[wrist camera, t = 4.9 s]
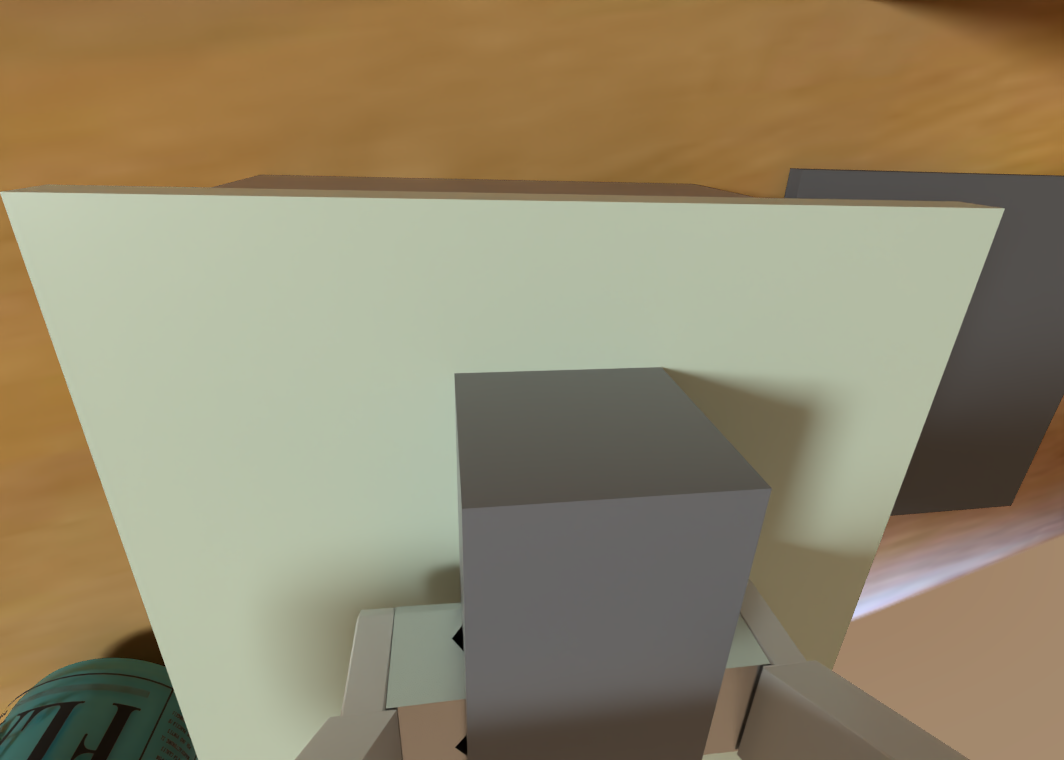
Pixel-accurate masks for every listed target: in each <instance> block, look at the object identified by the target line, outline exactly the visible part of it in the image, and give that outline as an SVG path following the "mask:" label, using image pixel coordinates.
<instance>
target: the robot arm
mask: <svg viewBox="0 0 1064 760" xmlns="http://www.w3.org/2000/svg"><path fill="white" fill-rule="evenodd" d="M466 735H467V727H466V692H465V670H464V651H463V624H462V603H448V604H433V605H418V606H402V607H396V608H381V609H366V610H361V611H360V614H359V616H358V618H357V622H356V628H355V633H354V639H353V645H352V651H351V657H350V663H349V669H348V674H347V680H346V686H345V692H344V698H343V704H342V709H341V715H340V716H334V717H329V718H328V719H327V720H326V722H325V723H324V724H323V725H322V727H321V728H320V729H319V730H318V731H317V733H316V734H315V735H314V736H313V738H312V739H311V740H310V741H309V743H308V744H307V745H306V746H305V747H304V749H303V750H302V751H301V752H300V754H299V755H298V756H297V757H296V759H295V760H467V739H466ZM735 751H738V752H737V755H738V756H739V757H740V758H741V759H742V760H969V759H968V758H966V757H965V756H963V755H961V754H960V753H959V752H957V751H956V750H954V749H952V748H951V747H949V746H948V745H946V744H945V743H943V742H941V741H940V740H939V739H937V738H935V737H934V736H932V735H931V734H929V733H928V732H926V731H925V730H923V729H921V728H920V727H918V726H917V725H915V724H914V723H912V722H911V721H909V720H907V719H906V718H904V717H903V716H901V715H900V714H898V713H897V712H895V711H894V710H892V709H891V708H889V707H887V706H886V705H884V704H883V703H881V702H880V701H878V700H877V699H875V698H874V697H872V696H870V695H869V694H867V693H866V692H864V691H863V690H861V689H860V688H858V687H857V686H855V685H853V684H852V683H850V682H849V681H847V680H846V679H844V678H843V677H841V676H840V675H838V674H836V673H835V672H833V671H832V670H830V669H829V668H827V667H826V666H824V665H823V664H821V663H819V662H818V661H816V660H814V661H806V659H805V658H804V656H803V655H802V653H801V652H800V650H799V649H798V648H797V646H796V645H795V643H794V642H793V640H792V639H791V638H790V636H789V635H788V633H787V632H786V630H785V629H784V627H783V626H782V625H781V623H780V622H779V620H778V619H777V617H776V616H775V614H774V613H773V612H772V610H771V609H770V607H769V606H768V604H767V603H766V601H765V600H764V599H763V597H762V596H761V594H760V593H759V591H758V590H757V588H756V587H755V586H754V584H753V583H752V581H751V580H750V579H748V583H747V587H746V591H745V595H744V599H743V603H742V606H741V610H740V614H739V618H738V622H737V626H736V630H735V634H734V638H733V641H732V645H731V649H730V653H729V657H728V661H727V665H726V669H725V672H724V676H723V680H722V684H721V688H720V692H719V696H718V700H717V703H716V707H715V711H714V715H713V719H712V723H711V727H710V731H709V735H708V738H707V742H706V746H705V750H704V754H703V755H707V754H716V753H726V752H735Z"/></svg>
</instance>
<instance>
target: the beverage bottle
mask: <svg viewBox="0 0 1064 760" xmlns="http://www.w3.org/2000/svg"><path fill="white" fill-rule="evenodd" d="M26 692H27V693H26ZM26 692H24V693H26V694H25V695H24V696H23V697H22V698H21V699H20V700H19V701H18V702H17V703H16V705H15V706H14V707H13V709H12V710H11V712H10V713H9V714H8V716H7V717H6V719H5V720H4V721H3V722H2V723H1V724H0V760H198V758H197V755H196V752H195V749H194V746H193V743H192V741H191V738H190V735H189V732H188V729H187V726H186V723H185V720H184V718H183V715H182V712H181V709H180V706H179V703H178V700H177V698H176V695H175V692H174V689H173V686H172V683H171V680H170V678H169V675H168V672H167V669H166V667H165V666H162V665H159V664H155V663H151V662H147V661H143V660H136V659H128V658H102V659H93V660H87V661H82V662H78V663H75V664H71V665H68V666H66V667H63V668H61V669H58V670H56V671H55V672H53V673H51V674H49V675H48V676H46V677H45V678H43V679H42V680H41V681H40V682H38V683H37V684H36V685H35V686H34V687H33V688H31V689H29V690H28V691H26ZM24 693H23V694H24ZM23 694H21V695H23ZM21 695H20V696H21ZM20 696H18V697H17V698H19V697H20ZM17 698H16V699H17ZM16 699H15V700H16ZM10 704H11V703H10ZM10 704H9V705H10ZM9 705H8V706H9ZM7 711H8V710H7ZM7 711H6V712H7ZM2 714H3V713H2ZM5 714H6V713H5ZM5 714H3V716H4V715H5ZM3 716H2V715H1V717H3ZM1 717H0V718H1Z"/></svg>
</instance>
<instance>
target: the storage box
mask: <svg viewBox="0 0 1064 760" xmlns="http://www.w3.org/2000/svg"><path fill="white" fill-rule="evenodd" d="M212 188H254V189H308V190H363V191H417V192H471V193H525V194H579V195H634V196H688V197H742V198H756V197H751V196H747V195H742V194H737V193H733V192H728V191H723V190H719V189H714V188H710V187H705V186H700V185H696V184H666V183H620V182H573V181H526V180H479V179H432V178H385V177H338V176H291V175H258V176H254V177H250V178H246V179H242V180H238V181H235V182H231V183H227V184H223V185H219V186H216V187H212Z"/></svg>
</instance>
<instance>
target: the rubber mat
mask: <svg viewBox="0 0 1064 760" xmlns="http://www.w3.org/2000/svg"><path fill="white" fill-rule="evenodd" d="M784 198H796V199H850V200H904V201H958V202H964V203H971V204H978V205H985V206H991V207H998V208H1005V210H1004V212H1003V215H1002V218H1001V220H1000V223H999V226H998V228H997V231H996V234H995V236H994V239H993V242H992V244H991V247H990V250H989V252H988V255H987V258H986V260H985V263H984V266H983V268H982V271H981V274H980V276H979V279H978V282H977V284H976V287H975V290H974V292H973V295H972V298H971V300H970V303H969V306H968V308H967V311H966V314H965V317H964V319H963V322H962V325H961V327H960V330H959V333H958V335H957V338H956V341H955V343H954V346H953V349H952V351H951V354H950V357H949V359H948V362H947V365H946V367H945V370H944V373H943V375H942V378H941V381H940V383H939V386H938V389H937V391H936V394H935V397H934V399H933V402H932V405H931V407H930V410H929V413H928V415H927V418H926V421H925V423H924V426H923V429H922V431H921V434H920V437H919V439H918V442H917V445H916V447H915V450H914V453H913V455H912V458H911V461H910V464H909V466H908V469H907V472H906V474H905V477H904V480H903V482H902V485H901V488H900V490H899V493H898V496H897V498H896V501H895V504H894V506H893V509H892V512H891V514H890V516H892V515H904V514H916V513H928V512H940V511H952V510H964V509H976V508H988V507H1000V506H1011V505H1012V503H1013V500H1014V498H1015V496H1016V494H1017V492H1018V490H1019V488H1020V486H1021V484H1022V481H1023V479H1024V477H1025V475H1026V473H1027V471H1028V469H1029V467H1030V464H1031V462H1032V460H1033V458H1034V456H1035V454H1036V452H1037V450H1038V448H1039V445H1040V443H1041V441H1042V439H1043V437H1044V435H1045V433H1046V431H1047V429H1048V426H1049V424H1050V422H1051V420H1052V418H1053V416H1054V414H1055V412H1056V410H1057V407H1058V405H1059V403H1060V401H1061V399H1062V397H1063V395H1064V176H1054V175H1017V174H980V173H942V172H905V171H868V170H830V169H793V168H790V173H789V178H788V183H787V187H786V192H785V197H784Z"/></svg>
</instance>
